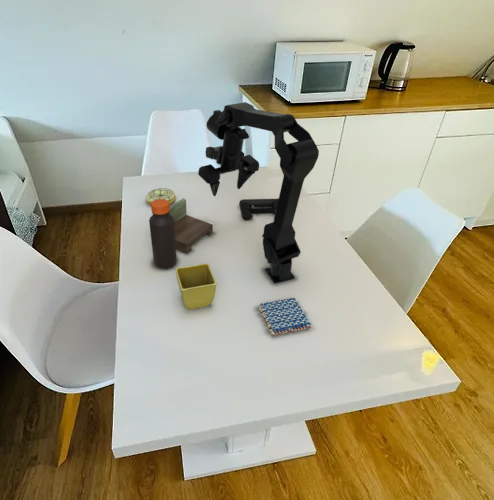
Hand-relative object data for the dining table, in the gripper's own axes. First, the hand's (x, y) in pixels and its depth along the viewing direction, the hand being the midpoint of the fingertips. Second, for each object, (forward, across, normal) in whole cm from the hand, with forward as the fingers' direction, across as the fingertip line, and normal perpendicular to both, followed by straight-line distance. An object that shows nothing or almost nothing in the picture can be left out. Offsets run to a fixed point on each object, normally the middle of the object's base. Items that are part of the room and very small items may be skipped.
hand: (226, 191), depth 122 cm
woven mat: (+8, +10, +44) cm, 45 cm away
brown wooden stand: (+15, +13, -1) cm, 20 cm away
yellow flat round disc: (+19, +9, -27) cm, 34 cm away
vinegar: (+14, +25, +7) cm, 29 cm away
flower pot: (+10, +26, +27) cm, 39 cm away
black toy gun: (+15, -19, +2) cm, 24 cm away
